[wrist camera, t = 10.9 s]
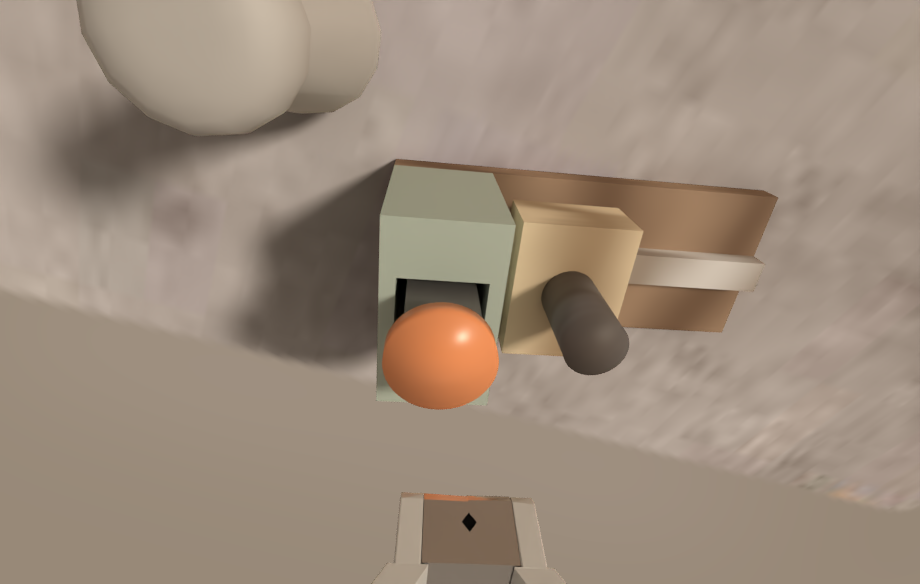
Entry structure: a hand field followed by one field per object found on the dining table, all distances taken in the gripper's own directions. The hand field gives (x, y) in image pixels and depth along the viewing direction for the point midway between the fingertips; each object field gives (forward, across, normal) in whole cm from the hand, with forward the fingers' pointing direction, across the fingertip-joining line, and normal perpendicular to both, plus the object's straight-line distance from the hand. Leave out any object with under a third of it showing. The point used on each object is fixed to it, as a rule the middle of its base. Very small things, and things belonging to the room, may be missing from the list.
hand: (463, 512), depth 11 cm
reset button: (+10, +1, 0) cm, 10 cm away
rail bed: (+16, -6, 0) cm, 18 cm away
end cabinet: (+15, +1, 0) cm, 15 cm away
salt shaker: (+16, +7, -9) cm, 20 cm away
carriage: (+14, -5, 0) cm, 15 cm away
